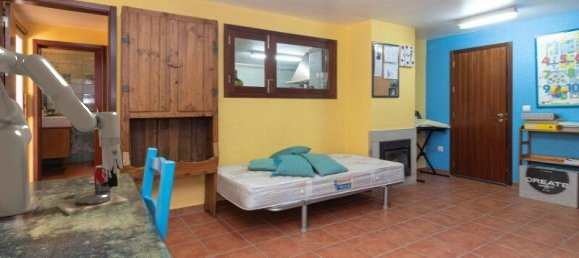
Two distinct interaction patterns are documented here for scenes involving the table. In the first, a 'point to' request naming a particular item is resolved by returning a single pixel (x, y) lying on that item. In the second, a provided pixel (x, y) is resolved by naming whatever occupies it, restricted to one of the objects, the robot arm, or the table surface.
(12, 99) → the robot arm
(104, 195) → the disc
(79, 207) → the stand
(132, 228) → the table surface
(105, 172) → the soda can
